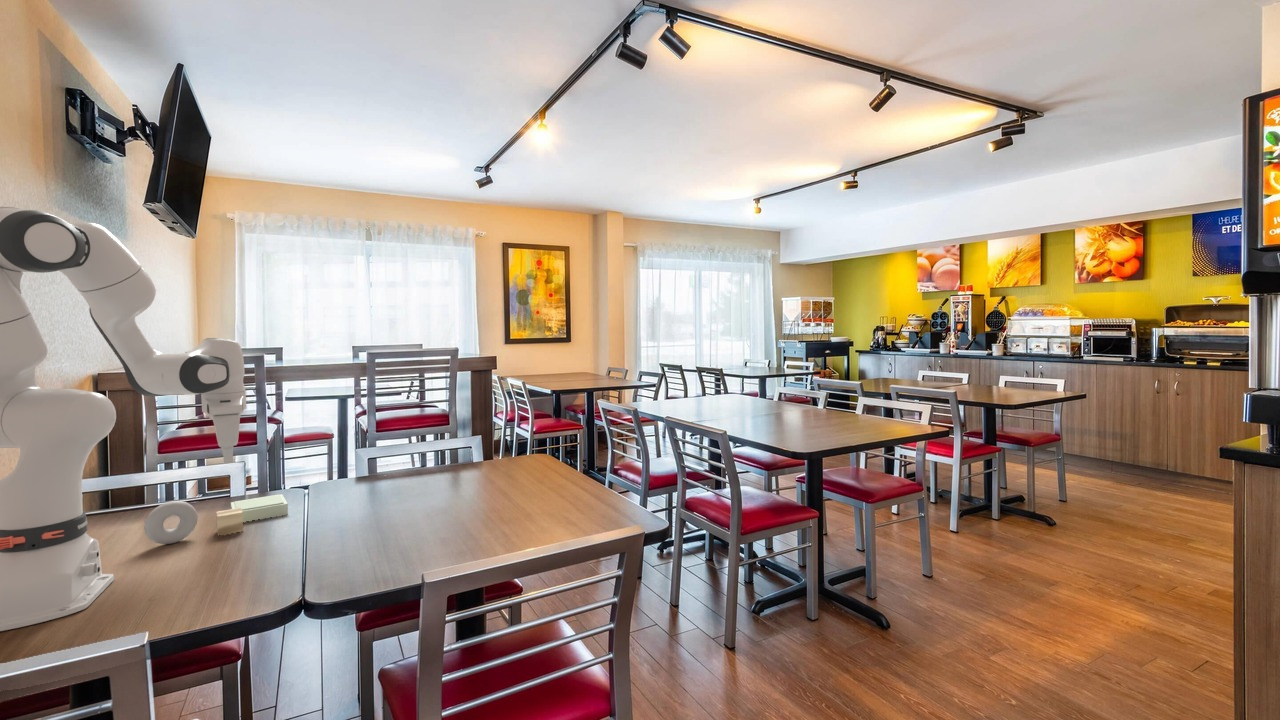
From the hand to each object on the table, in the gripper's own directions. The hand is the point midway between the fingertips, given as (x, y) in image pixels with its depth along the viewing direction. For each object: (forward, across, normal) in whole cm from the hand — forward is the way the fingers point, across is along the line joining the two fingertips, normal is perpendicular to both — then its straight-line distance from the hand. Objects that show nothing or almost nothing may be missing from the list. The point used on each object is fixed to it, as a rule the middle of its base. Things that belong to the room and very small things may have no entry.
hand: (227, 459), depth 139 cm
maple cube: (+18, 0, 0) cm, 18 cm away
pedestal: (+18, -12, +7) cm, 23 cm away
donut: (+18, +1, -11) cm, 21 cm away
